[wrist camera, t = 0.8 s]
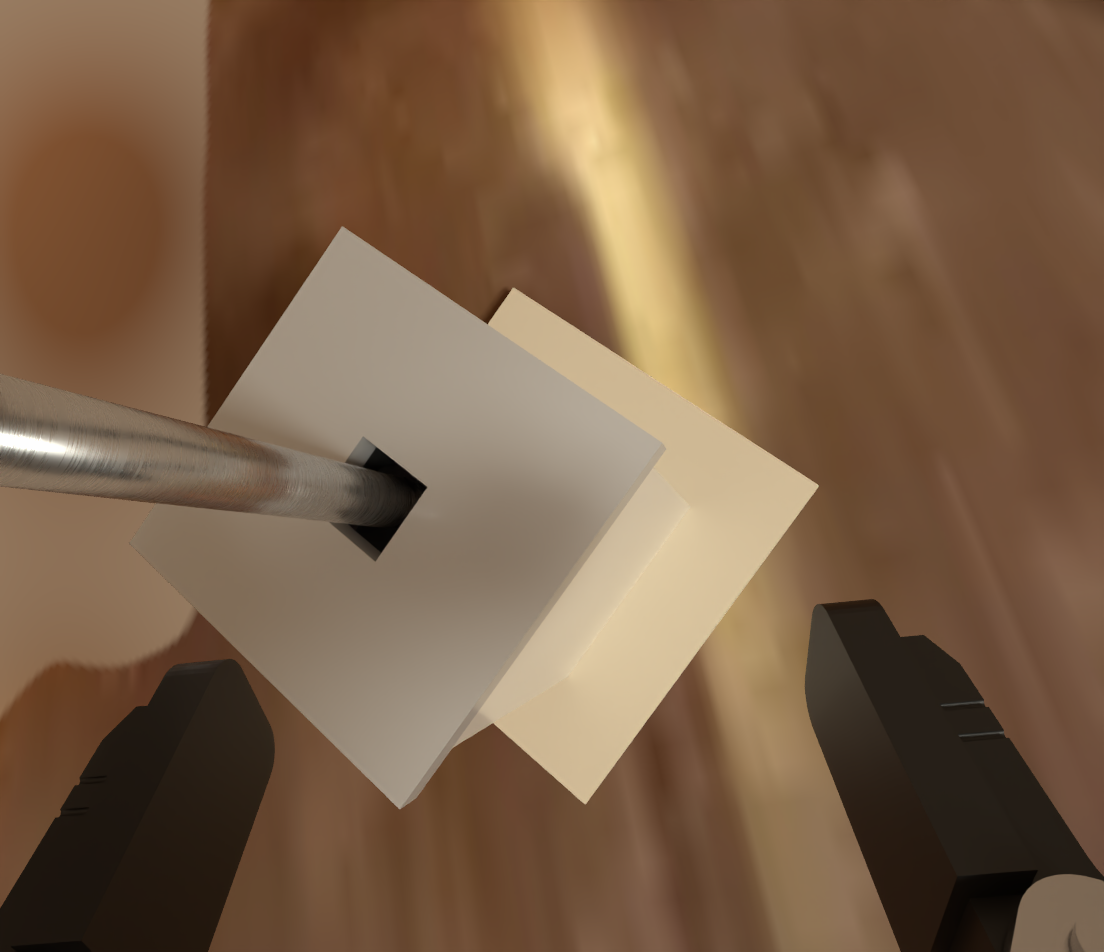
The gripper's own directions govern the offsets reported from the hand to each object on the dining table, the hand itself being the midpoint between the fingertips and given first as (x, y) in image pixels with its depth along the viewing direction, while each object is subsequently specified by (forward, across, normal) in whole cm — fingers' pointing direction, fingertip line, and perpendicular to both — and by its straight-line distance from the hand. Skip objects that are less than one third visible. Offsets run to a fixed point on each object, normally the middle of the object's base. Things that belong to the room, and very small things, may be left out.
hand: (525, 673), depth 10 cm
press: (+25, +1, +16) cm, 30 cm away
